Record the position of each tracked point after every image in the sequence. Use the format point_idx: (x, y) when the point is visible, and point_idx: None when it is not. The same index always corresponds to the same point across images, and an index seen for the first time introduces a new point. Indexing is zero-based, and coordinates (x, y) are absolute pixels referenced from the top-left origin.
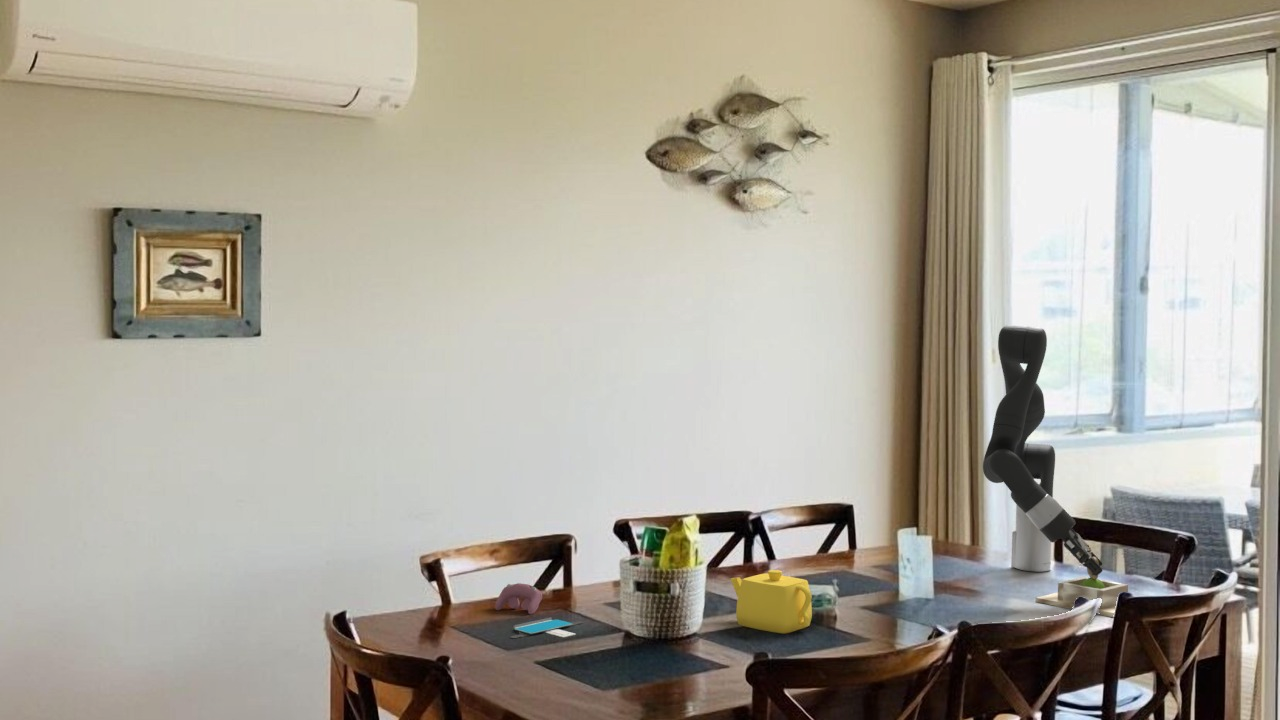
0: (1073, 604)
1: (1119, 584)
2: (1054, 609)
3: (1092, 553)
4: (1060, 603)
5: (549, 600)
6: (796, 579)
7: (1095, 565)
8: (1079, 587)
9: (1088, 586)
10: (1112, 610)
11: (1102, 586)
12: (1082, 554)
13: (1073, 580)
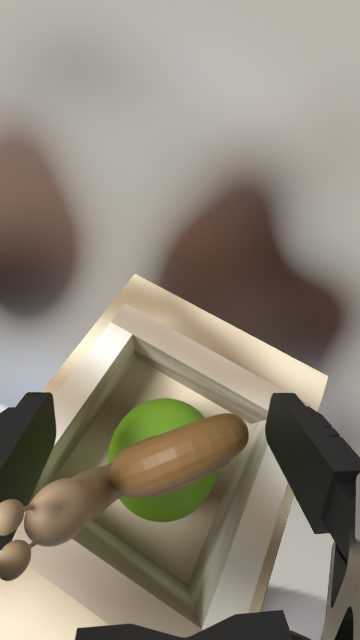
0: (271, 537)
1: (131, 334)
2: (319, 627)
3: (3, 472)
4: (258, 608)
5: None
6: None
7: (339, 436)
8: (272, 527)
9: (216, 477)
10: (292, 381)
11: (191, 406)
12: (338, 594)
13: (105, 583)
